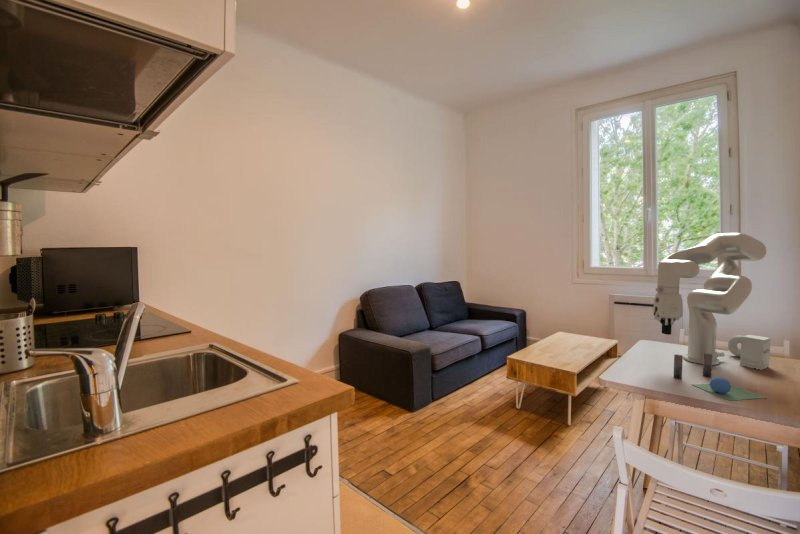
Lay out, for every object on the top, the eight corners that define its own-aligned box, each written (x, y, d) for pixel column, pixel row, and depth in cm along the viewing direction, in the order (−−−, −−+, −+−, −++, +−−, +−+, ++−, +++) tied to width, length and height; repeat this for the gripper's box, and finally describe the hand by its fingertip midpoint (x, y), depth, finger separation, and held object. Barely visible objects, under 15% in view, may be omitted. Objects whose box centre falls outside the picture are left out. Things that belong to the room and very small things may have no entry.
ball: (733, 397, 129) (720, 391, 135) (736, 381, 129) (722, 375, 135) (717, 395, 130) (704, 389, 135) (720, 379, 129) (707, 373, 135)
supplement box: (761, 370, 155) (763, 340, 154) (739, 365, 162) (740, 336, 161) (769, 367, 159) (771, 337, 158) (747, 362, 165) (748, 334, 164)
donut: (755, 360, 169) (757, 337, 168) (750, 360, 168) (751, 338, 167) (730, 353, 178) (731, 332, 178) (725, 354, 177) (726, 333, 177)
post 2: (706, 375, 150) (707, 352, 149) (713, 377, 147) (714, 354, 147) (700, 375, 150) (701, 353, 149) (707, 378, 147) (708, 355, 146)
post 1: (677, 376, 148) (678, 354, 148) (683, 379, 146) (684, 356, 145) (671, 377, 148) (672, 354, 147) (677, 379, 145) (678, 356, 145)
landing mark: (725, 383, 142) (725, 382, 142) (766, 398, 128) (766, 397, 128) (692, 385, 140) (692, 384, 140) (729, 400, 126) (729, 400, 126)
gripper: (658, 292, 154) (657, 336, 155) (692, 291, 156) (690, 335, 157) (644, 289, 161) (643, 332, 162) (676, 289, 163) (674, 331, 164)
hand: (666, 333), depth 160 cm, fingers closed
